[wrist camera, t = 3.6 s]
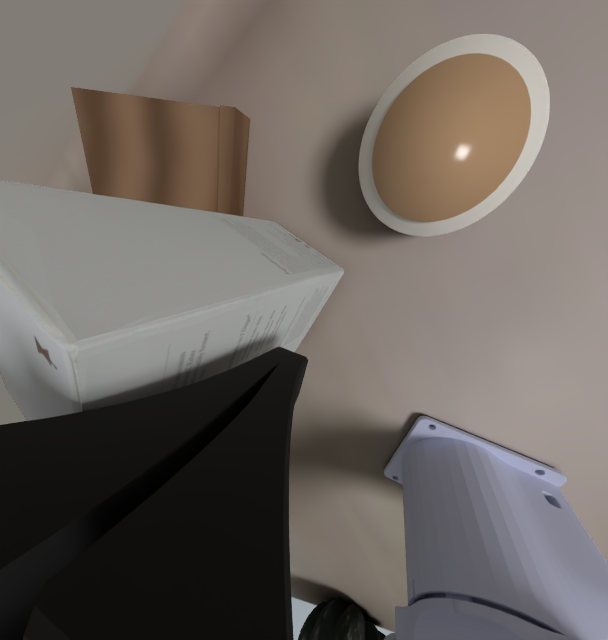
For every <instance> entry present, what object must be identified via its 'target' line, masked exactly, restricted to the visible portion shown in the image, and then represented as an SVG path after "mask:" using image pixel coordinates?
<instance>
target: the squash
mask: <svg viewBox="0 0 608 640" xmlns="http://www.w3.org/2000/svg"><path fill="white" fill-rule="evenodd" d="M385 637H386V636H385V635H384V634H383V633H381V632H380V631H378V630H377V628H376V627H375V625H374V624H373V623H371V622H365V619H364V616H363V614H362V612H361V611H360V610H359V608H358V607H357V606H355V605H354V604H352V605H350V606H348V607H347V605H346V604H345V603H344V602H343V601H342V600H340V599H334V600H332V601H331V602H322V603H320V604H318V605H317V606H316V607H315V608H314V609H313V611H312V612H311V613H310V614H309V616H308V617H307V619H306V621H305V623H304V625H303V627H302V629H301V631H300V635H299V638H298V640H384V638H385Z"/></svg>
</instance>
